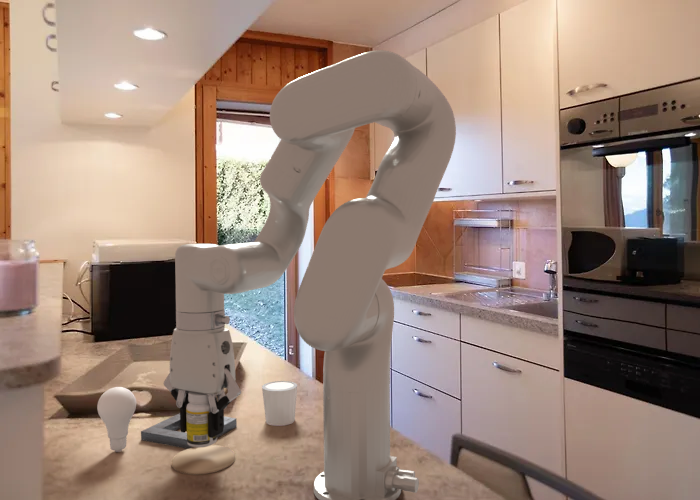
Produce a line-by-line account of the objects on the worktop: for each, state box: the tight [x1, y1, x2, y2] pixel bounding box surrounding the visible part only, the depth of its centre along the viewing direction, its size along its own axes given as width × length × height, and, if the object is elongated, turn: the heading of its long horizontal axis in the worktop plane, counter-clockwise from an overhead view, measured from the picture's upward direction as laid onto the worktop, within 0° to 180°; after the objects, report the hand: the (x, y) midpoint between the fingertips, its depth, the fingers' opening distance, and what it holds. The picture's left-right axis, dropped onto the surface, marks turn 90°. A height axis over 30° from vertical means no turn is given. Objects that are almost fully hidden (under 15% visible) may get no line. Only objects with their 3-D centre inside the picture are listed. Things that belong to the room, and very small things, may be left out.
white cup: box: [261, 380, 298, 427], centre depth 112 cm, size 7×7×7 cm
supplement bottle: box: [186, 391, 218, 448], centre depth 93 cm, size 5×5×8 cm
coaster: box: [171, 444, 236, 475], centre depth 93 cm, size 10×10×1 cm
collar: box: [140, 412, 238, 450], centre depth 105 cm, size 12×12×2 cm
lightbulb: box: [96, 386, 137, 453], centre depth 97 cm, size 6×6×11 cm
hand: (201, 431), depth 93 cm, fingers closed on supplement bottle, 4 cm apart
